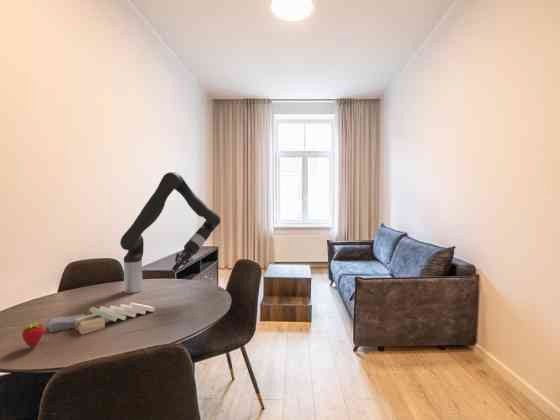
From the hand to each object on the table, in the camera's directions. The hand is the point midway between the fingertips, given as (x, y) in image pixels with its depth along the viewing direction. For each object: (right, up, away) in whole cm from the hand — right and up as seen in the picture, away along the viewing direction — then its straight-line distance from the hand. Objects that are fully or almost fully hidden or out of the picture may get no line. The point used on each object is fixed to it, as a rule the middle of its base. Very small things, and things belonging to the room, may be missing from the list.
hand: (173, 270), depth 151 cm
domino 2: (-14, -16, -21) cm, 30 cm away
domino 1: (-17, -16, -24) cm, 33 cm away
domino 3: (-12, -16, -18) cm, 27 cm away
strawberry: (-32, -18, -47) cm, 60 cm away
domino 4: (-9, -16, -15) cm, 23 cm away
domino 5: (-6, -16, -11) cm, 20 cm away
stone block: (-34, -18, -28) cm, 47 cm away
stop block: (-23, -17, -31) cm, 42 cm away
